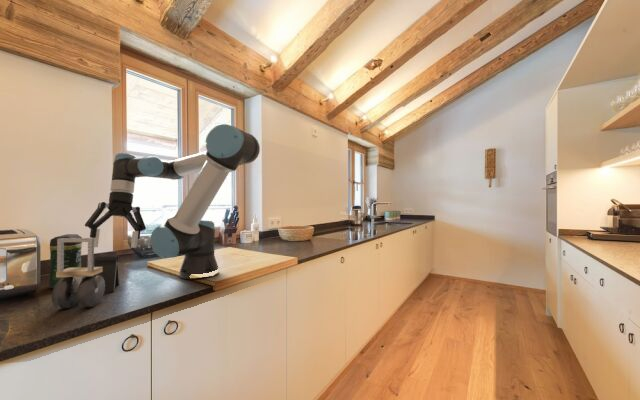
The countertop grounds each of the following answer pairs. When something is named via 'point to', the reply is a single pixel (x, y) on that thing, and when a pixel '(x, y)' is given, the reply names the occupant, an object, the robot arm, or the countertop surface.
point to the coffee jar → (70, 256)
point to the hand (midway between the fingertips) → (115, 247)
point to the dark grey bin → (109, 271)
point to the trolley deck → (79, 272)
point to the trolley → (77, 281)
